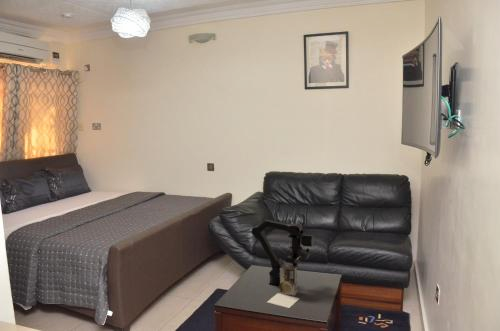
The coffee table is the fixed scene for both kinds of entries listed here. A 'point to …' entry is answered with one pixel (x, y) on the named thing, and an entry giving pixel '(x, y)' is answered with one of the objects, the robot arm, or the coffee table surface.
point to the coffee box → (288, 280)
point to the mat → (283, 300)
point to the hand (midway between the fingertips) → (295, 269)
